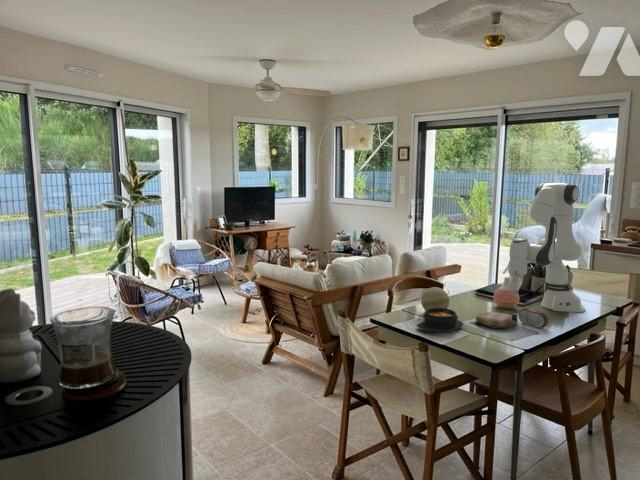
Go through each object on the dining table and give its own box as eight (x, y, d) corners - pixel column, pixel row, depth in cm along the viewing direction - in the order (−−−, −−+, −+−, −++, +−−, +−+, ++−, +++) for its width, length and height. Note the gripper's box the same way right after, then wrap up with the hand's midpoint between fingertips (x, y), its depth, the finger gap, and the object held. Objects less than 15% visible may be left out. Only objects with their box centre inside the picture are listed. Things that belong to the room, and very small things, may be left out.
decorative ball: (437, 320, 253) (438, 292, 251) (415, 313, 265) (415, 287, 262) (454, 314, 263) (455, 287, 260) (432, 308, 274) (432, 282, 272)
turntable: (517, 317, 252) (517, 309, 252) (517, 329, 234) (518, 320, 233) (477, 312, 260) (477, 305, 259) (474, 324, 241) (475, 316, 241)
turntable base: (511, 321, 251) (511, 318, 251) (510, 329, 238) (510, 326, 238) (482, 318, 256) (483, 315, 256) (481, 326, 243) (481, 323, 243)
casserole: (445, 319, 255) (446, 303, 254) (472, 329, 239) (472, 313, 238) (408, 326, 244) (409, 311, 242) (433, 338, 227) (434, 321, 226)
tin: (547, 329, 238) (549, 313, 237) (544, 330, 237) (545, 314, 235) (520, 321, 251) (521, 305, 249) (516, 322, 249) (517, 306, 248)
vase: (514, 304, 280) (516, 275, 277) (521, 311, 267) (523, 280, 264) (490, 304, 282) (491, 274, 279) (496, 311, 268) (498, 280, 265)
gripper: (521, 274, 235) (519, 301, 237) (526, 267, 253) (524, 292, 255) (508, 272, 238) (506, 299, 240) (513, 265, 256) (511, 290, 258)
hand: (515, 296), depth 248 cm, fingers closed
